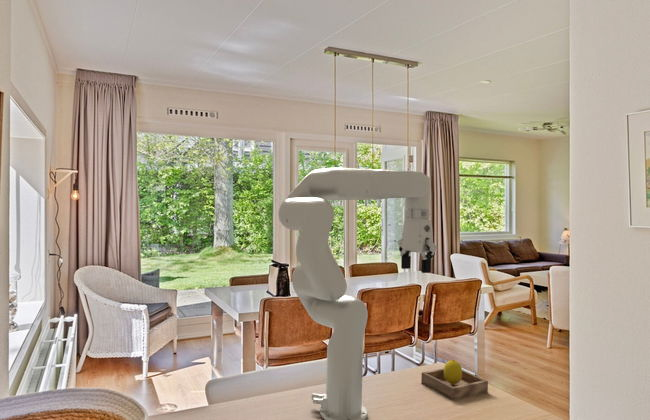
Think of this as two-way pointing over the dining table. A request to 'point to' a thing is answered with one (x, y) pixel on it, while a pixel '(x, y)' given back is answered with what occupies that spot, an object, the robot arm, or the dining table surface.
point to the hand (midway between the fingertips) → (415, 270)
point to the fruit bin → (462, 389)
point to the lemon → (453, 372)
